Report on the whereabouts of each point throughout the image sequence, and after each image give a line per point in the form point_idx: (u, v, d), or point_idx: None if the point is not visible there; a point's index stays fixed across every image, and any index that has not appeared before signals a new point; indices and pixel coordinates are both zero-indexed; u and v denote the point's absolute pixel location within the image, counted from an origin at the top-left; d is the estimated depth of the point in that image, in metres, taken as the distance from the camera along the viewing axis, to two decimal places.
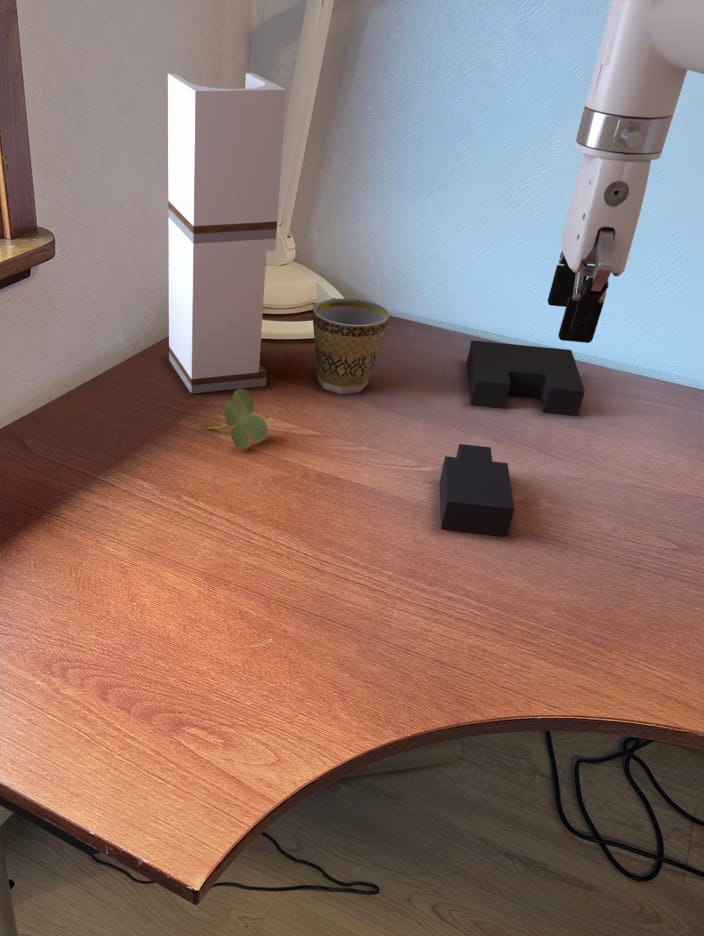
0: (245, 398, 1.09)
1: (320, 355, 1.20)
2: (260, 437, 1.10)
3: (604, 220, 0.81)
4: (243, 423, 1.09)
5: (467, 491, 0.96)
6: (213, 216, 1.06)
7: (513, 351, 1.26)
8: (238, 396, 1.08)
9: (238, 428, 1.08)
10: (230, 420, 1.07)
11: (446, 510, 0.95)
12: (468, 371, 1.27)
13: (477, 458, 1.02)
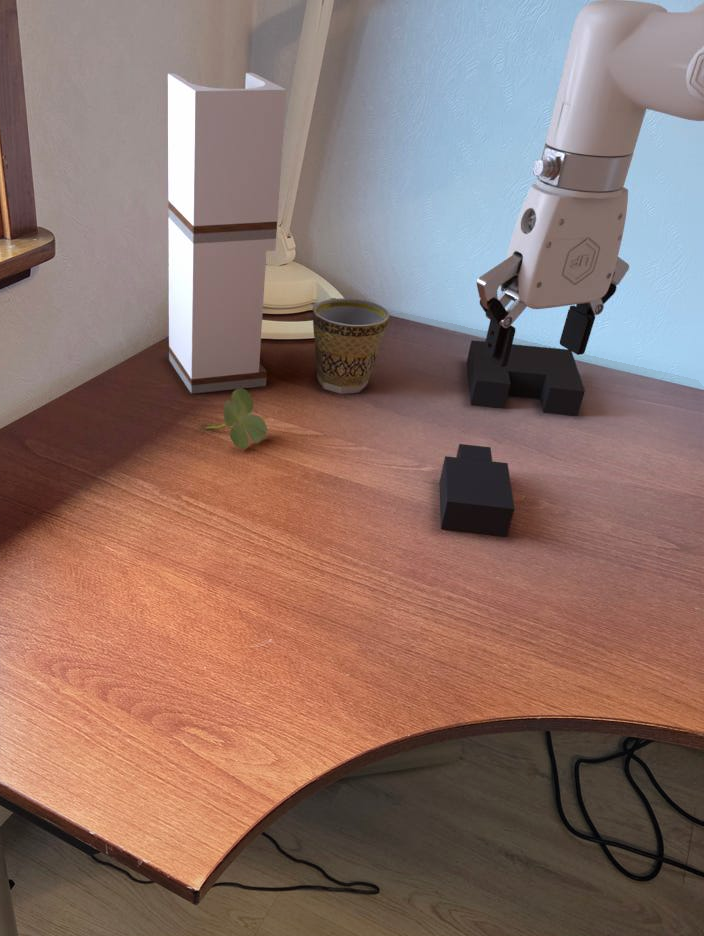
0: (244, 398, 1.09)
1: (320, 355, 1.20)
2: (259, 437, 1.10)
3: (517, 244, 0.83)
4: (242, 422, 1.09)
5: (467, 491, 0.96)
6: (213, 216, 1.06)
7: (513, 351, 1.26)
8: (237, 395, 1.08)
9: (237, 428, 1.08)
10: (229, 420, 1.07)
11: (446, 510, 0.95)
12: (468, 371, 1.27)
13: (477, 458, 1.02)
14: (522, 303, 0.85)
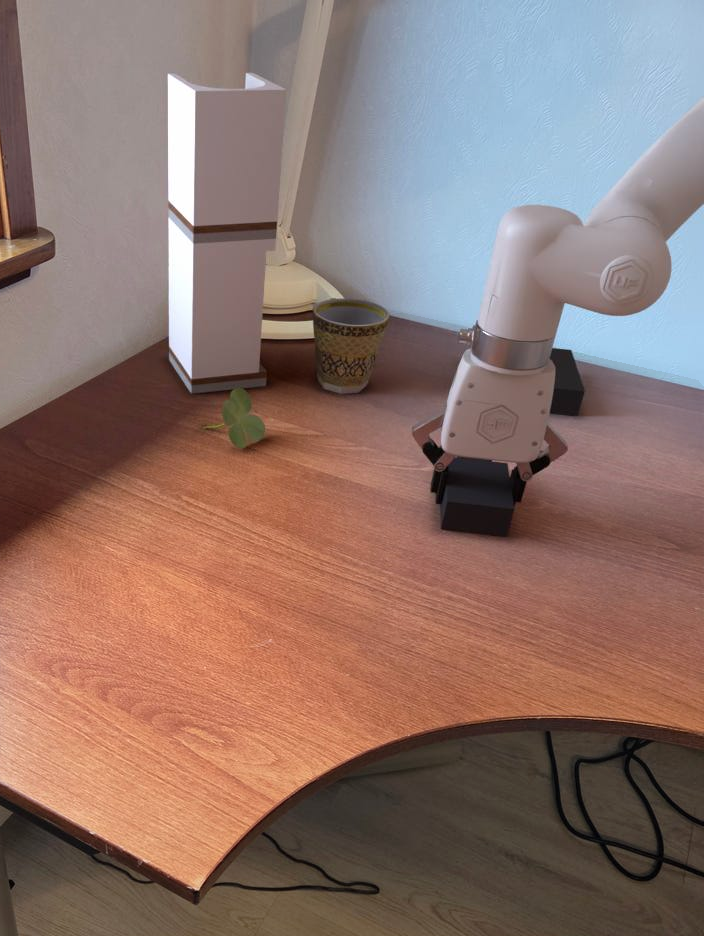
0: (242, 397, 1.09)
1: (320, 355, 1.20)
2: (258, 436, 1.11)
3: (448, 396, 0.93)
4: (240, 422, 1.09)
5: (467, 491, 0.96)
6: (213, 216, 1.06)
7: None
8: (235, 395, 1.08)
9: (235, 428, 1.08)
10: (228, 420, 1.07)
11: (446, 510, 0.95)
12: None
13: None
14: None
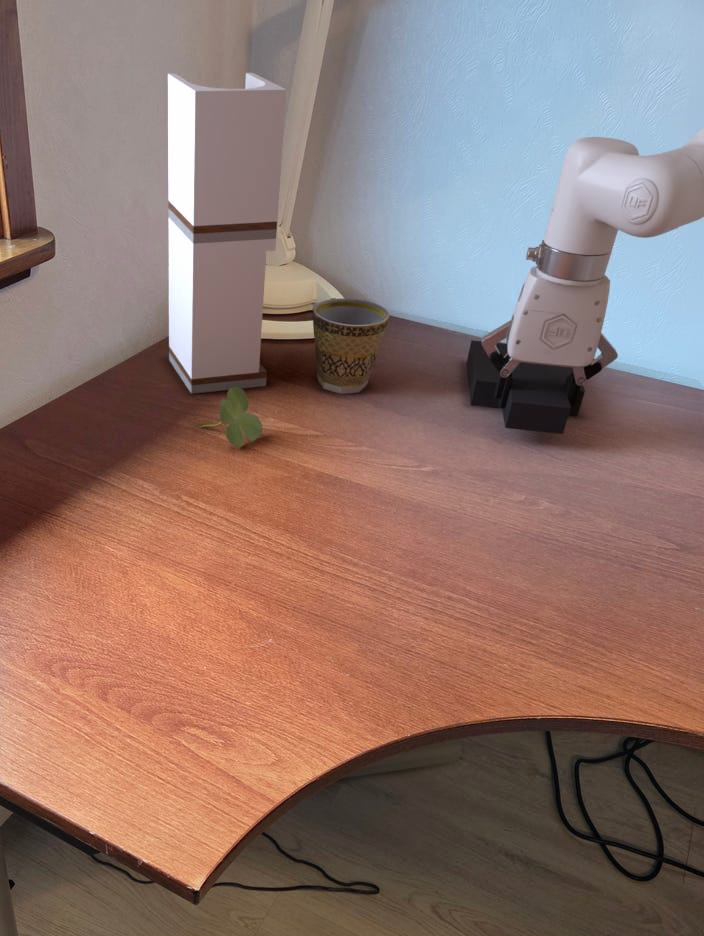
0: (239, 396, 1.09)
1: (320, 355, 1.20)
2: (255, 435, 1.11)
3: (514, 309, 1.07)
4: (237, 421, 1.09)
5: (528, 395, 1.10)
6: (213, 216, 1.06)
7: None
8: (232, 394, 1.08)
9: (232, 426, 1.09)
10: (225, 418, 1.07)
11: (511, 410, 1.09)
12: (468, 371, 1.27)
13: (534, 370, 1.16)
14: None
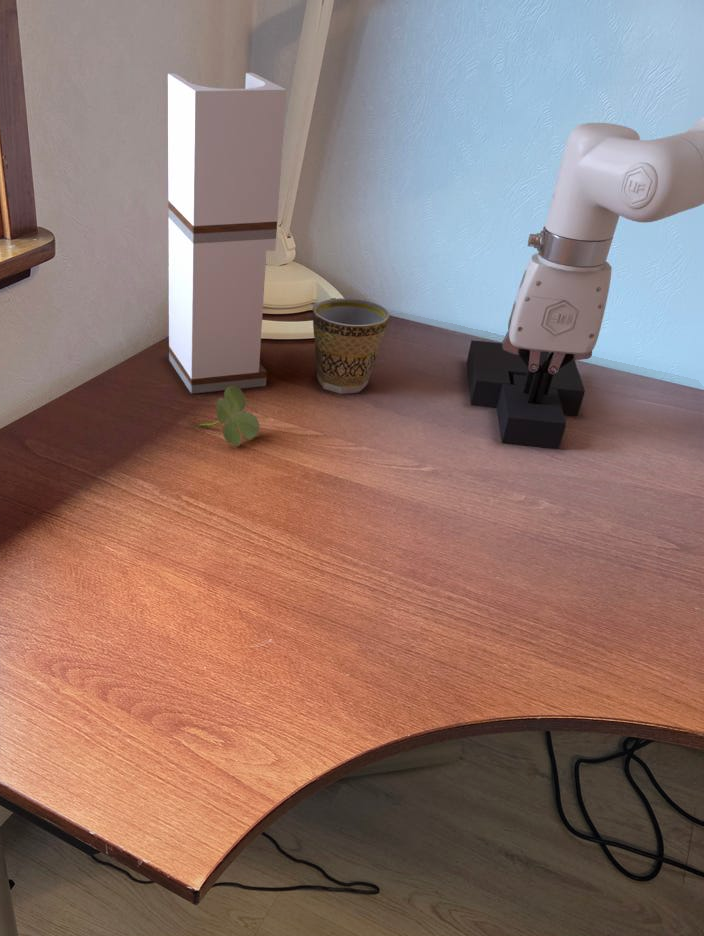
0: (236, 395, 1.09)
1: (320, 355, 1.20)
2: (252, 434, 1.11)
3: (516, 296, 1.07)
4: (234, 419, 1.10)
5: (524, 410, 1.12)
6: (213, 216, 1.06)
7: None
8: (230, 392, 1.09)
9: (230, 425, 1.09)
10: (222, 417, 1.07)
11: (507, 425, 1.11)
12: (468, 371, 1.27)
13: None
14: (534, 351, 1.09)
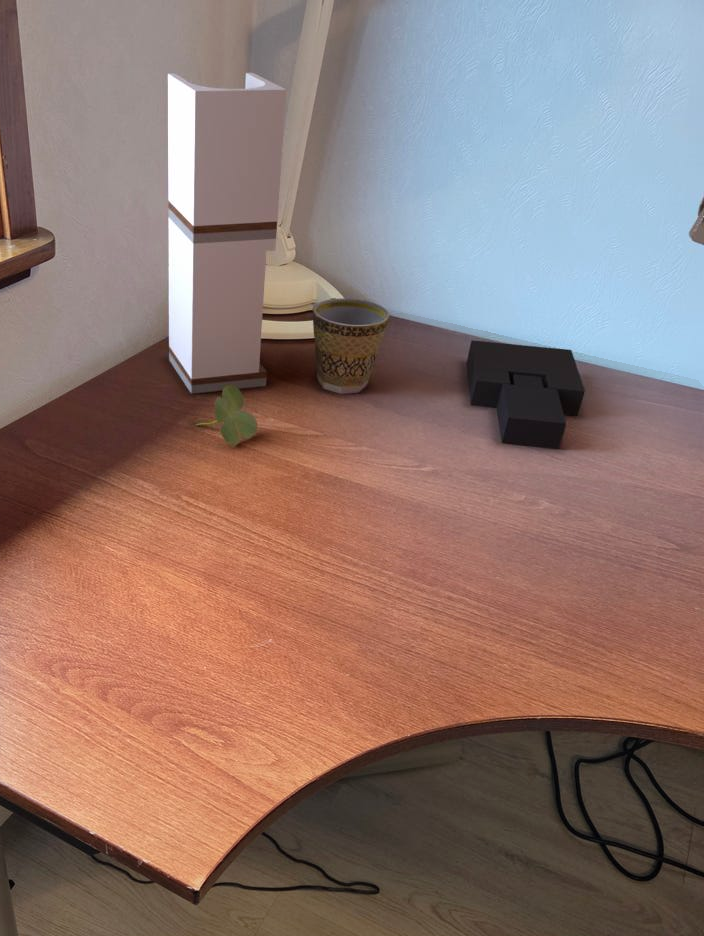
0: (234, 394, 1.10)
1: (320, 355, 1.20)
2: (250, 433, 1.11)
3: None
4: (232, 419, 1.10)
5: (524, 410, 1.12)
6: (213, 216, 1.06)
7: (513, 351, 1.26)
8: (227, 392, 1.09)
9: (228, 424, 1.09)
10: (220, 416, 1.08)
11: (507, 425, 1.11)
12: (468, 371, 1.27)
13: (530, 385, 1.17)
14: None
